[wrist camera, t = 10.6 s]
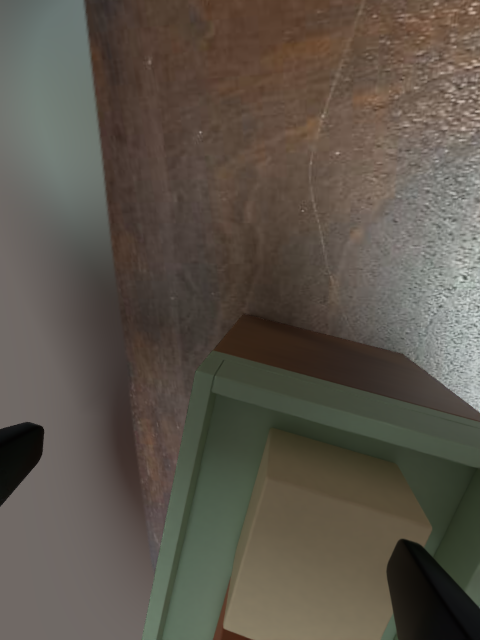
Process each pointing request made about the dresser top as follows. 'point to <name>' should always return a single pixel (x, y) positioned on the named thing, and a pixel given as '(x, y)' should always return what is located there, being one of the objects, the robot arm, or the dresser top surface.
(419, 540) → the beige pad
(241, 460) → the green serving tray
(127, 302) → the dresser top surface
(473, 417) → the stand
